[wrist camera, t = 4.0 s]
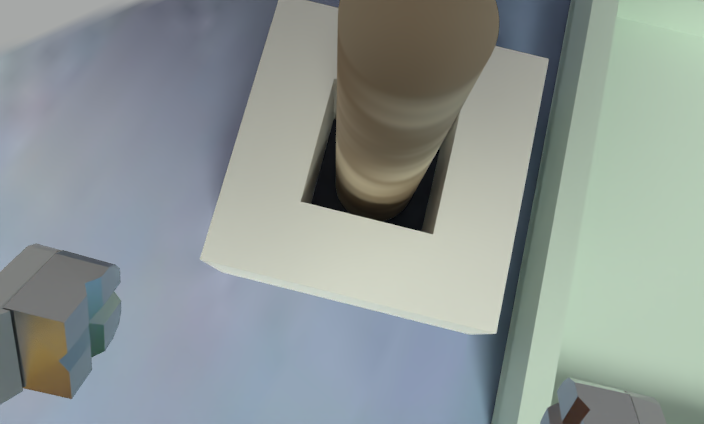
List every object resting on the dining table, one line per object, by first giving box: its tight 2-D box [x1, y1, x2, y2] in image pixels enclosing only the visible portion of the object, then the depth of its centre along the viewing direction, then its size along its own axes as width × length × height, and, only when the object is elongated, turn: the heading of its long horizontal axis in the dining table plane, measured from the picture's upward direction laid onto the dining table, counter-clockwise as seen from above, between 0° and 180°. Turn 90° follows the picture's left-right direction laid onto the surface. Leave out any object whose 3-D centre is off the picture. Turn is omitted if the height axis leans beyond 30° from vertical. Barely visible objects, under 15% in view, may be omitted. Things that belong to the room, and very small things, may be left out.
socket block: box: [200, 0, 549, 334], centre depth 23 cm, size 10×10×4 cm
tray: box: [491, 0, 704, 424], centre depth 23 cm, size 10×19×3 cm, turn 166°
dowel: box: [335, 0, 499, 222], centre depth 18 cm, size 3×3×13 cm
